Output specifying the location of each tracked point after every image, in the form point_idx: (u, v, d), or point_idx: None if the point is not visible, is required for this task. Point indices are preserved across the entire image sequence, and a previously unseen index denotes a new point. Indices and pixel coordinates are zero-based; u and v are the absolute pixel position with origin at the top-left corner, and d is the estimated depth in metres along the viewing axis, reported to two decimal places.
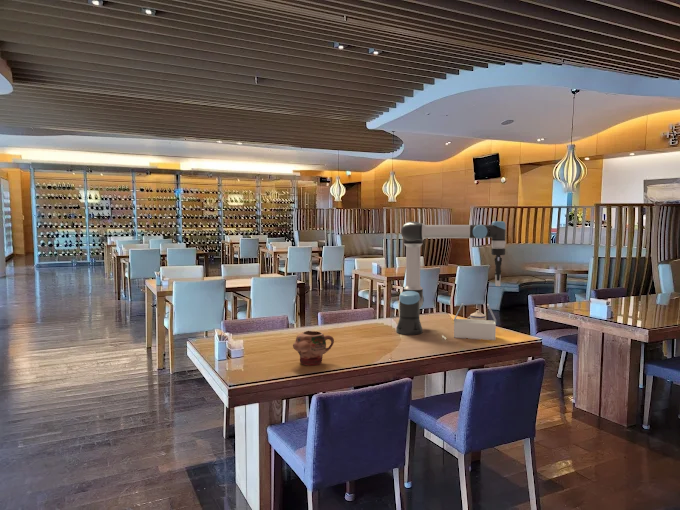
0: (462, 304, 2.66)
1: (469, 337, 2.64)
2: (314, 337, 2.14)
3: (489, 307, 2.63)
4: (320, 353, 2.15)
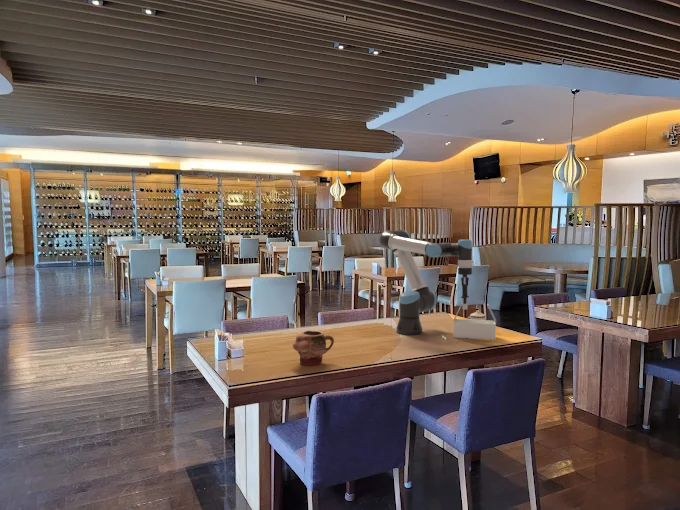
0: (461, 304, 2.66)
1: (469, 337, 2.64)
2: (314, 337, 2.14)
3: (489, 307, 2.63)
4: (320, 353, 2.15)
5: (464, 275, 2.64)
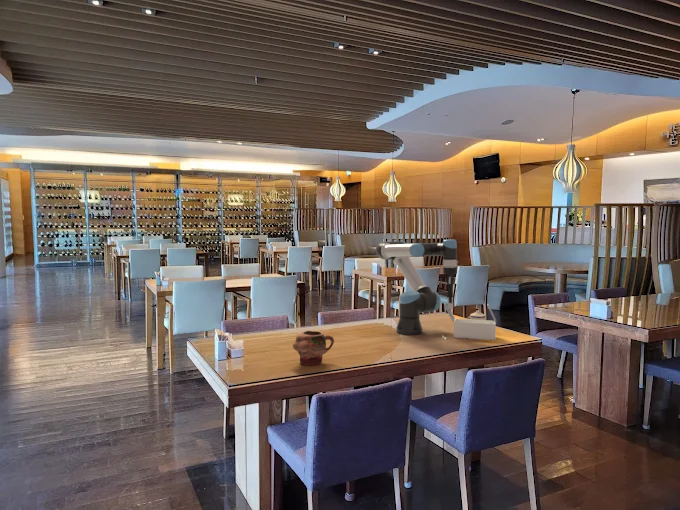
0: (444, 304, 2.69)
1: (469, 337, 2.64)
2: (314, 337, 2.14)
3: (489, 307, 2.63)
4: (320, 353, 2.15)
5: (449, 275, 2.66)
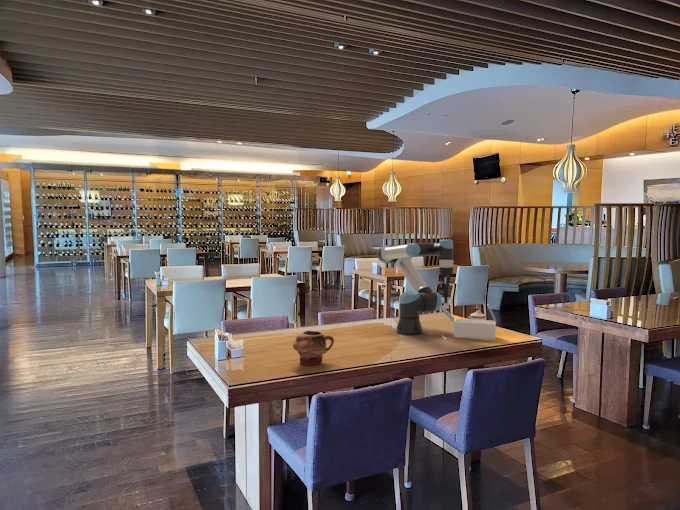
0: None
1: (469, 337, 2.64)
2: (314, 337, 2.14)
3: (489, 307, 2.63)
4: (320, 353, 2.15)
5: (445, 275, 2.67)
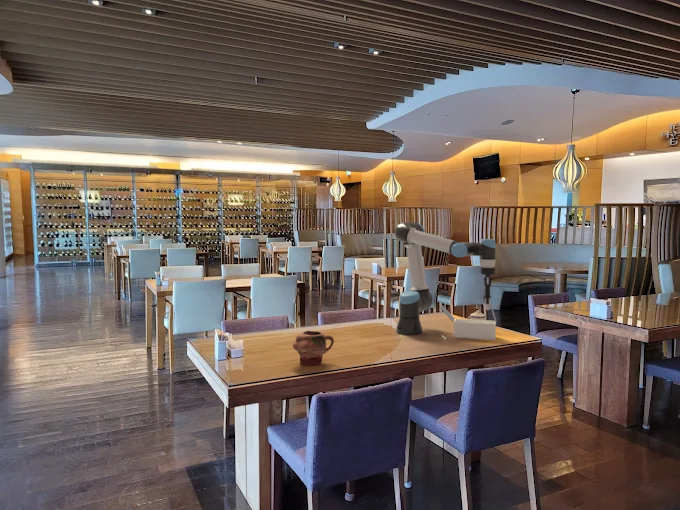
0: None
1: (469, 337, 2.64)
2: (314, 337, 2.14)
3: (491, 306, 2.63)
4: (320, 353, 2.15)
5: (487, 275, 2.60)
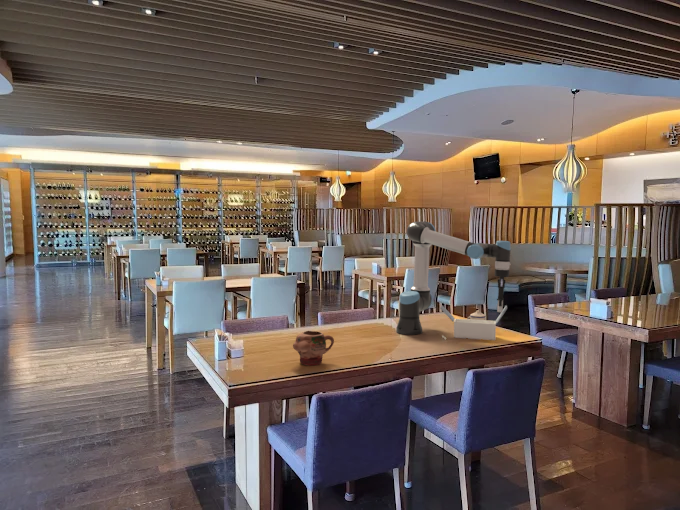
0: None
1: (469, 337, 2.64)
2: (314, 337, 2.14)
3: (505, 309, 2.61)
4: (320, 353, 2.15)
5: (501, 277, 2.58)
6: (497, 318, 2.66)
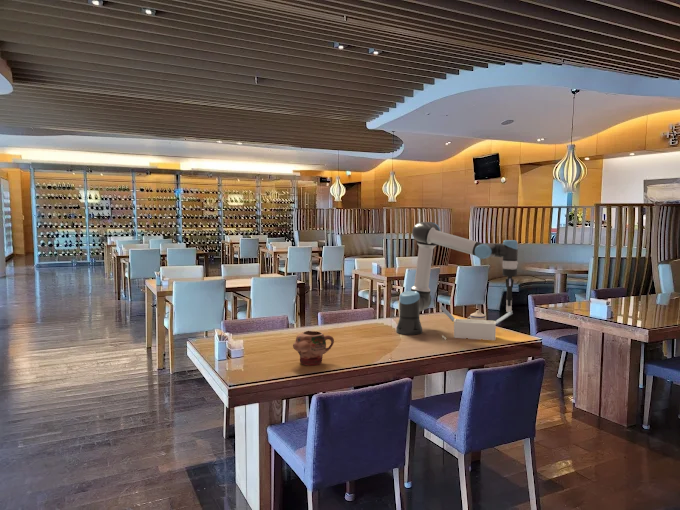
0: None
1: (469, 337, 2.64)
2: (314, 337, 2.14)
3: (510, 314, 2.60)
4: (320, 353, 2.15)
5: (509, 276, 2.57)
6: (498, 319, 2.66)
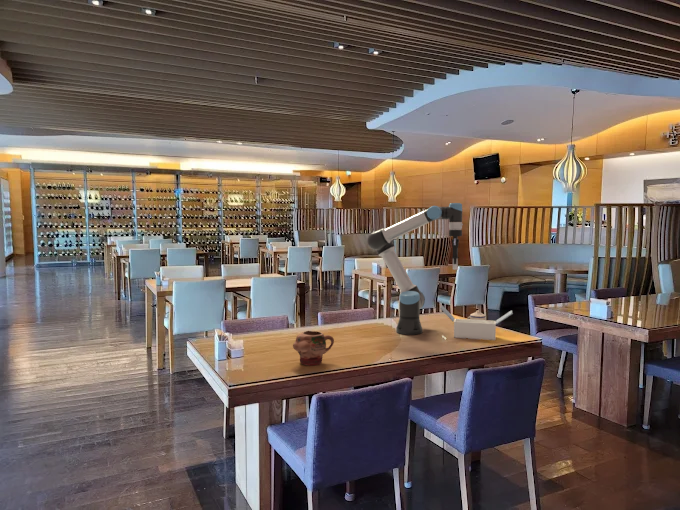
0: None
1: (469, 337, 2.64)
2: (314, 337, 2.14)
3: (510, 314, 2.60)
4: (320, 353, 2.15)
5: (454, 236, 2.78)
6: (498, 319, 2.66)
